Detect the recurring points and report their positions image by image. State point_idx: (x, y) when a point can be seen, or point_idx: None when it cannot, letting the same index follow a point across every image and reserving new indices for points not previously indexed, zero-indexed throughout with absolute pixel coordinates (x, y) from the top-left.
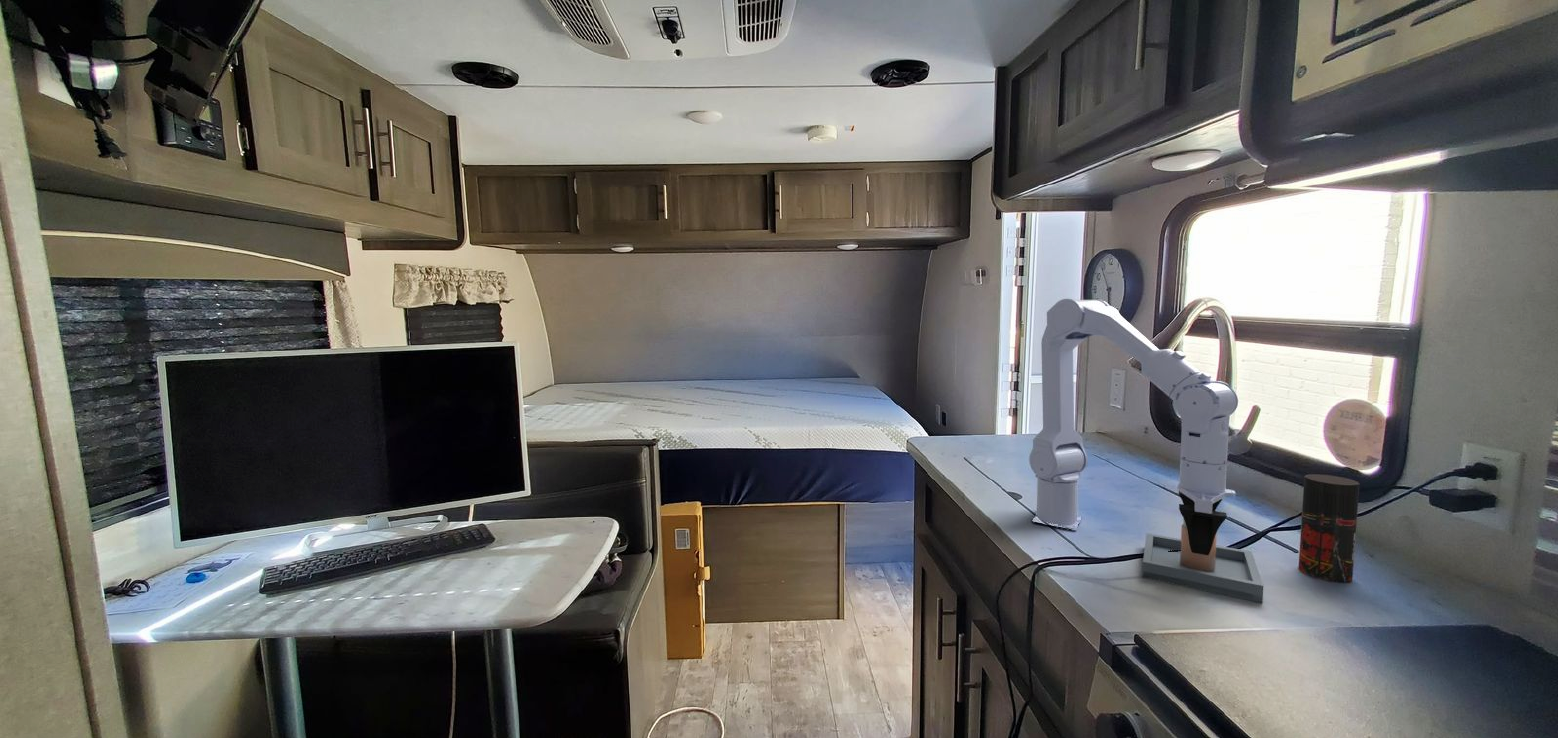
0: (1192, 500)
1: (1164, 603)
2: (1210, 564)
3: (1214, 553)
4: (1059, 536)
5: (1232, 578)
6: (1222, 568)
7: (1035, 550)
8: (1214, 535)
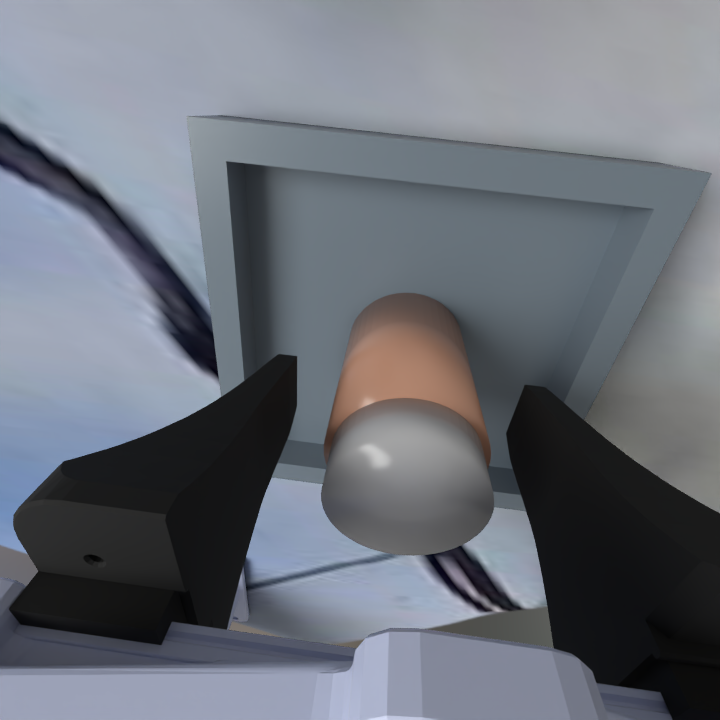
0: (224, 582)
1: (706, 447)
2: (456, 329)
3: (446, 339)
4: (303, 580)
5: (633, 288)
6: (390, 264)
7: (429, 616)
8: (630, 460)
